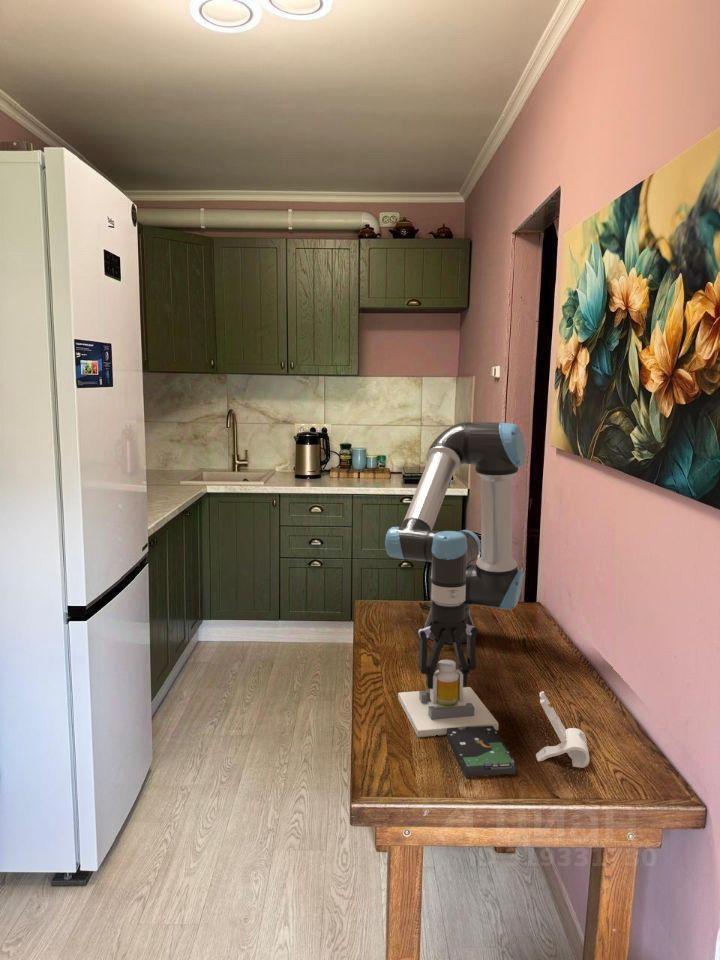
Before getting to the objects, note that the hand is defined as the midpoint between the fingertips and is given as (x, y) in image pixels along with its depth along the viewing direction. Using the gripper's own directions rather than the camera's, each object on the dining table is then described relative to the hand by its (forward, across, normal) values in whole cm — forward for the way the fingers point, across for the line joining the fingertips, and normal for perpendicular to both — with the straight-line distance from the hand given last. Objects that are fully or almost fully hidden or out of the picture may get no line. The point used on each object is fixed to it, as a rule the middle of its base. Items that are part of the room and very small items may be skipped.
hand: (446, 699), depth 149 cm
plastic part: (+4, +18, -21) cm, 28 cm away
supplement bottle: (+1, 0, 0) cm, 1 cm away
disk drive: (+4, +2, -18) cm, 18 cm away
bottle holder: (+3, 0, 0) cm, 3 cm away
